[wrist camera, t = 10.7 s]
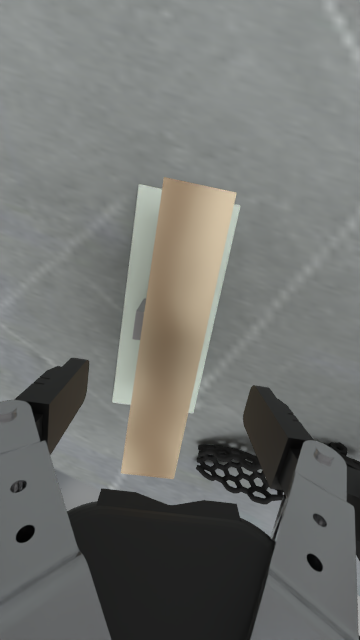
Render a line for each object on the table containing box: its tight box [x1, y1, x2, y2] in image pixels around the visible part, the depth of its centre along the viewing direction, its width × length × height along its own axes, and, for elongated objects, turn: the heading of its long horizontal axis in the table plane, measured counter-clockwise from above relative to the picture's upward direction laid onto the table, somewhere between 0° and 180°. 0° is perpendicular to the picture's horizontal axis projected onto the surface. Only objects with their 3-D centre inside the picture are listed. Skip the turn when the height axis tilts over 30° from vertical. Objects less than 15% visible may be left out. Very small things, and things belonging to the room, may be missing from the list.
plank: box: [121, 177, 236, 479], centre depth 18 cm, size 4×20×5 cm, turn 170°
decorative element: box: [196, 443, 360, 504], centre depth 30 cm, size 22×5×6 cm, turn 87°
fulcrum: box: [112, 184, 240, 413], centre depth 23 cm, size 10×24×7 cm, turn 170°
